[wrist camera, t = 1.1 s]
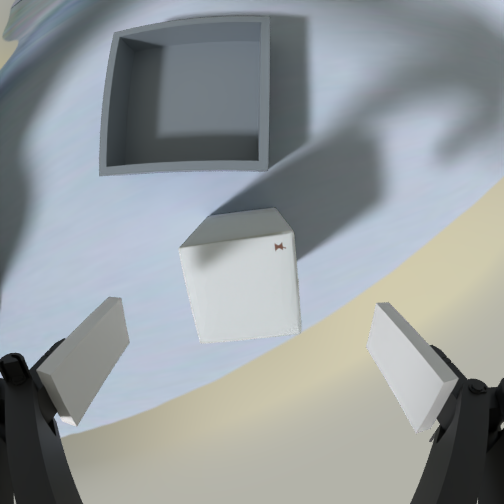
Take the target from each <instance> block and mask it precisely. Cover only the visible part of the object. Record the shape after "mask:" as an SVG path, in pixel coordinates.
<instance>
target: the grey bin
mask: <svg viewBox="0 0 504 504" xmlns="http://www.w3.org/2000/svg"><path fill="white" fill-rule="evenodd" d="M269 96H270V17H264V16H220V17H204V18H192V19H183V20H175V21H168V22H162V23H156V24H150V25H145V26H140V27H136V28H131V29H127V30H123V31H119V32H115V33H114V35H113V40H112V45H111V50H110V55H109V60H108V66H107V73H106V80H105V87H104V95H103V105H102V116H101V130H100V154H99V176H115V175H131V174H146V173H164V172H192V171H258V172H265V171H268V153H269Z"/></svg>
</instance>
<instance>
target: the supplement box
mask: <svg viewBox="0 0 504 504" xmlns="http://www.w3.org/2000/svg"><path fill="white" fill-rule="evenodd" d="M179 254H180V260H181V265H182V270H183V275H184V279H185V284H186V288H187V293H188V297H189V301H190V305H191V310H192V314H193V318H194V321H195V325H196V329H197V333H198V336H199V340H200V343H201V344H204V343H217V342H228V341H239V340H248V339H257V338H267V337H277V336H285V335H293V334H299V333H301V313H300V298H299V280H298V273H297V261H296V249H295V237H294V231H293V230H292V228H291V227H290V226H289V225H288V223H287V222H286V221H285V219H284V218H283V217H282V215H281V214H280V213H279V212H278V210H277V209H276V208H275V207H274V208H266V209H257V210H249V211H241V212H233V213H226V214H218V215H212V216H208V217H207V218H206V219H205V220H204V221H203V222H202V223H201V224H200V225H199V226H198V228H197V229H196V230H195V231H194V232H193V233H192V234H191V235H190V236H189V237H188V239H187V240H186V241H185V242H184V243H183V244H182V245H181V246H180V247H179Z"/></svg>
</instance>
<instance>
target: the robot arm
mask: <svg viewBox="0 0 504 504" xmlns="http://www.w3.org/2000/svg"><path fill="white" fill-rule="evenodd" d="M129 343H130V341H129V337H128V332H127V327H126V322H125V317H124V311H123V305H122V299H121V298H116V297H108V298H107V299H106V300H105V301H104V302H103V303H102V304H101V305H100V306H99V307H98V308H97V309H96V310H95V311H93V312H92V313H91V314H90V315H89V316H88V317H87V318H86V319H85V320H84V321H83V322H82V323H81V324H80V325H79V326H78V327H77V328H76V329H75V330H74V331H73V332H72V333H71V334H70V335H69V336H68V337H67V338H66V339H65V338H64V339H62V340H60V341H58V342H56V343H55V344H54V345H53V346H52V347H51V348H50V349H49V351H47V352H46V353H45V355H43V356H42V357H41V358H40V359H39V360H38V361H37V362H36V364H35V365H34V366H33V367H32V368H31V369H30V370H29V369H28V366H27V364H26V362H25V359H24V357H23V356H22V355H21V354H19V353H10V354H7V355H5V356H3V357H2V358H1V359H0V372H1V374H2V376H3V378H4V379H3V378H0V504H14V496H15V500H16V504H83V503H82V500H81V498H80V496H79V493H78V491H77V488H76V485H75V483H74V480H73V477H72V475H71V472H70V469H69V466H68V463H67V460H66V456H65V453H64V450H63V446H62V443H61V439H60V435H59V431H58V427H57V423H56V421H55V419H54V416H55V414H56V413H57V412H58V414H59V416H60V418H61V419H62V421H63V422H65V423H68V424H71V425H74V426H76V427H77V426H78V424H79V422H80V421H81V419H82V417H83V416H84V414H85V412H86V411H87V409H88V407H89V406H90V404H91V402H92V401H93V399H94V397H95V396H96V394H97V393H98V391H99V389H100V388H101V386H102V385H103V383H104V381H105V380H106V378H107V377H108V375H109V374H110V372H111V370H112V369H113V367H114V366H115V364H116V363H117V361H118V360H119V358H120V357H121V355H122V353H123V352H124V350H125V349H126V347H127V346H128V344H129ZM366 348H367V349H368V351H369V353H370V354H371V356H372V358H373V359H374V361H375V363H376V364H377V366H378V368H379V369H380V371H381V373H382V374H383V376H384V378H385V380H386V381H387V383H388V385H389V386H390V388H391V390H392V392H393V393H394V395H395V397H396V398H397V400H398V402H399V404H400V406H401V407H402V409H403V411H404V413H405V414H406V416H407V418H408V420H409V422H410V424H411V425H412V427H413V429H414V431H415V433H419V432H422V431H425V430H428V429H430V428H431V427H432V425H433V424H434V422H435V421H436V419H437V420H438V422H439V423H440V425H439V427H438V428H437V430H436V431H435V433H434V434H433V436H432V438H431V439H430V441H429V442H431V441H432V440H433V439H434V441H433V445H432V448H431V451H430V454H429V458H428V460H427V463H426V466H425V469H424V472H423V474H422V477H421V479H420V482H419V485H418V487H417V489H416V492H415V494H414V496H413V499H412V501H411V503H410V504H476V503H477V500H478V504H504V428H503V430H501V427H500V426H501V424H502V423H503V421H504V378H503V379H502V380H501V382H500V384H499V385H498V387H491V388H488V387H487V386H486V384H485V383H483V382H482V381H480V380H477V379H468V380H467V378H466V377H465V376H464V375H463V374H462V373H461V372H460V371H459V370H458V368H457V367H456V366H455V365H454V364H453V363H451V360H450V359H449V358H447V356H446V355H445V354H444V353H443V352H442V351H441V350H440V349H438V348H437V347H435V346H433V345H429V344H428V343H427V342H426V341H425V340H424V339H423V338H422V337H421V336H420V335H419V334H418V332H416V330H415V329H414V328H413V327H412V326H411V325H410V324H409V323H408V322H407V321H406V320H405V319H404V318H403V317H402V316H401V315H400V314H399V313H398V311H397V310H396V309H395V308H394V307H393V306H392V305H391V304H390V303H376V306H375V312H374V316H373V321H372V325H371V329H370V333H369V337H368V342H367V345H366Z"/></svg>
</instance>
